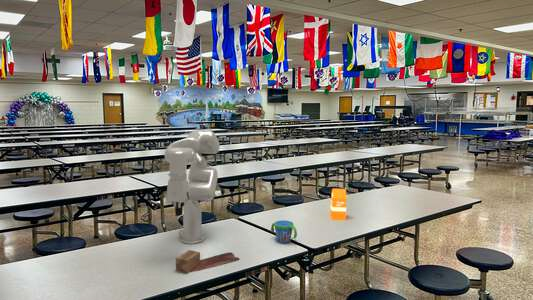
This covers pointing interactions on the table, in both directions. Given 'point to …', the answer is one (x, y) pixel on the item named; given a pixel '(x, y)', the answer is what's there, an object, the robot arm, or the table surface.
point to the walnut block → (187, 261)
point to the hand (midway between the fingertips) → (179, 215)
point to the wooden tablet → (215, 261)
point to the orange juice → (338, 204)
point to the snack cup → (283, 230)
